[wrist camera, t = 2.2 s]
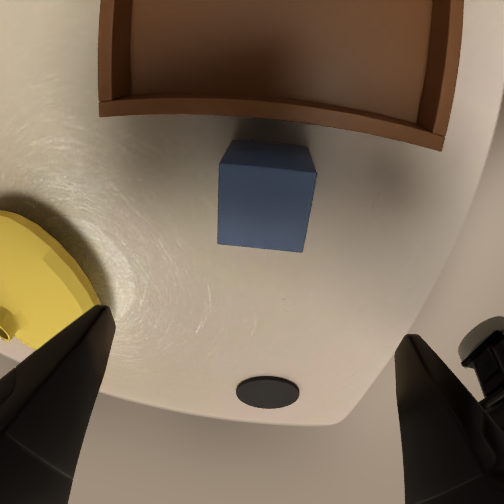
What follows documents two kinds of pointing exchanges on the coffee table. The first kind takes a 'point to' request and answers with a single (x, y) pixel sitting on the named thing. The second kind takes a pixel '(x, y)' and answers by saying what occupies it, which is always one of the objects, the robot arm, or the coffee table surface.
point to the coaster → (267, 392)
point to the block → (265, 195)
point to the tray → (286, 62)
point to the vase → (38, 283)
